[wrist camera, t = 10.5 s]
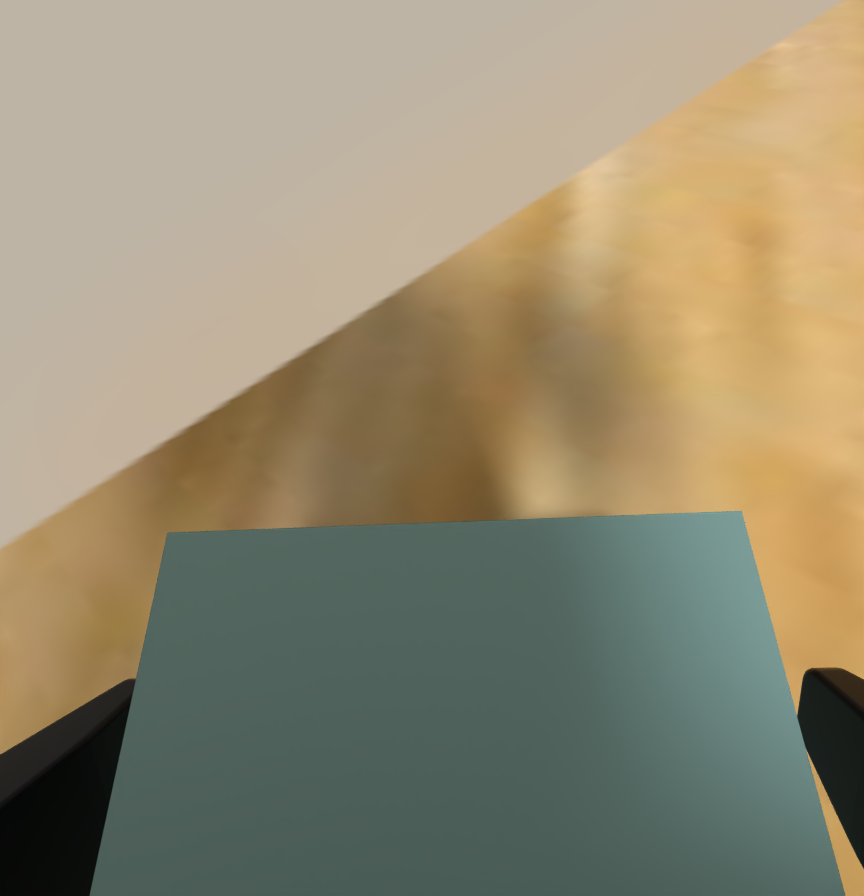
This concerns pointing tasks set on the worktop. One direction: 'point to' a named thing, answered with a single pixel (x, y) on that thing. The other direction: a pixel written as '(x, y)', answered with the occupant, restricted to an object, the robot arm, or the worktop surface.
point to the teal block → (464, 717)
